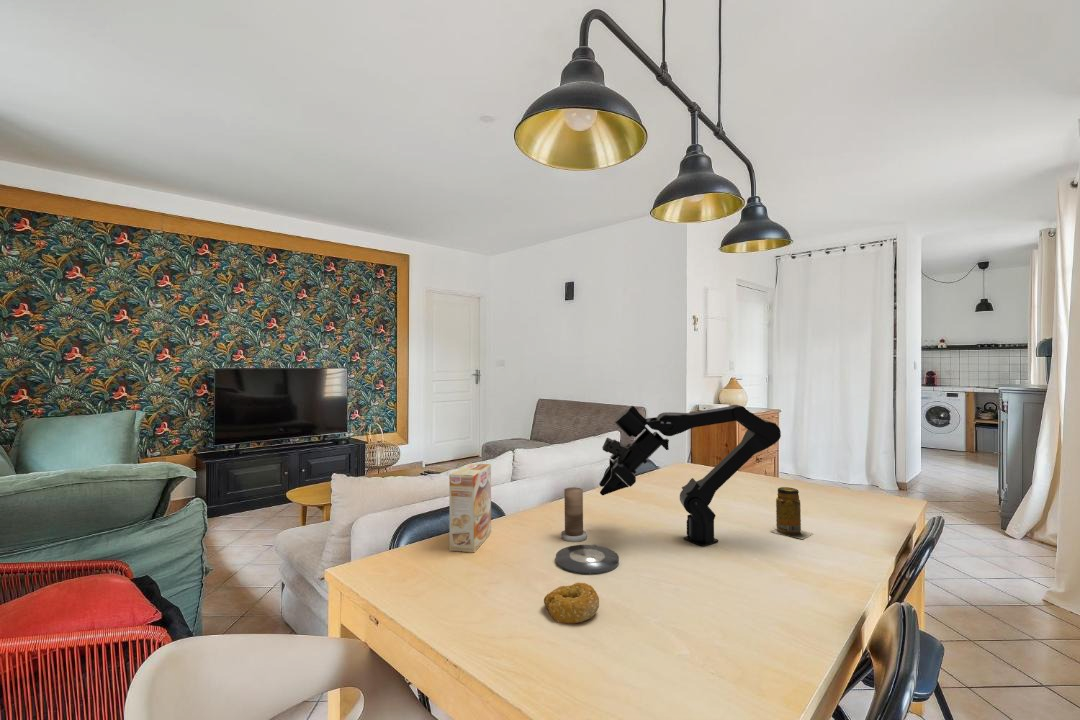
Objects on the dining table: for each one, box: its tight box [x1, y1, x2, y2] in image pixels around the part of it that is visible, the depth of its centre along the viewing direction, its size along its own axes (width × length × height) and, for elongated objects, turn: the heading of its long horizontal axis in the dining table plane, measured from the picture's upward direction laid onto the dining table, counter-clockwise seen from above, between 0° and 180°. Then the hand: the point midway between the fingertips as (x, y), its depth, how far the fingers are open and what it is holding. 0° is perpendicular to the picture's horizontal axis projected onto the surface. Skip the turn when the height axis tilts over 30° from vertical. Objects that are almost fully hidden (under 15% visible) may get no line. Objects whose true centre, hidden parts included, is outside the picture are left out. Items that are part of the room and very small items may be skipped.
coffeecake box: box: [448, 463, 492, 553], centre depth 131 cm, size 15×7×20 cm, turn 168°
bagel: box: [543, 582, 600, 625], centre depth 93 cm, size 10×11×5 cm
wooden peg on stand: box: [560, 486, 588, 543], centre depth 133 cm, size 7×7×13 cm
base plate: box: [555, 544, 620, 575], centre depth 117 cm, size 15×15×1 cm
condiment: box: [770, 486, 814, 540], centre depth 135 cm, size 7×8×12 cm
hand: (600, 489), depth 132 cm, fingers open, 9 cm apart
